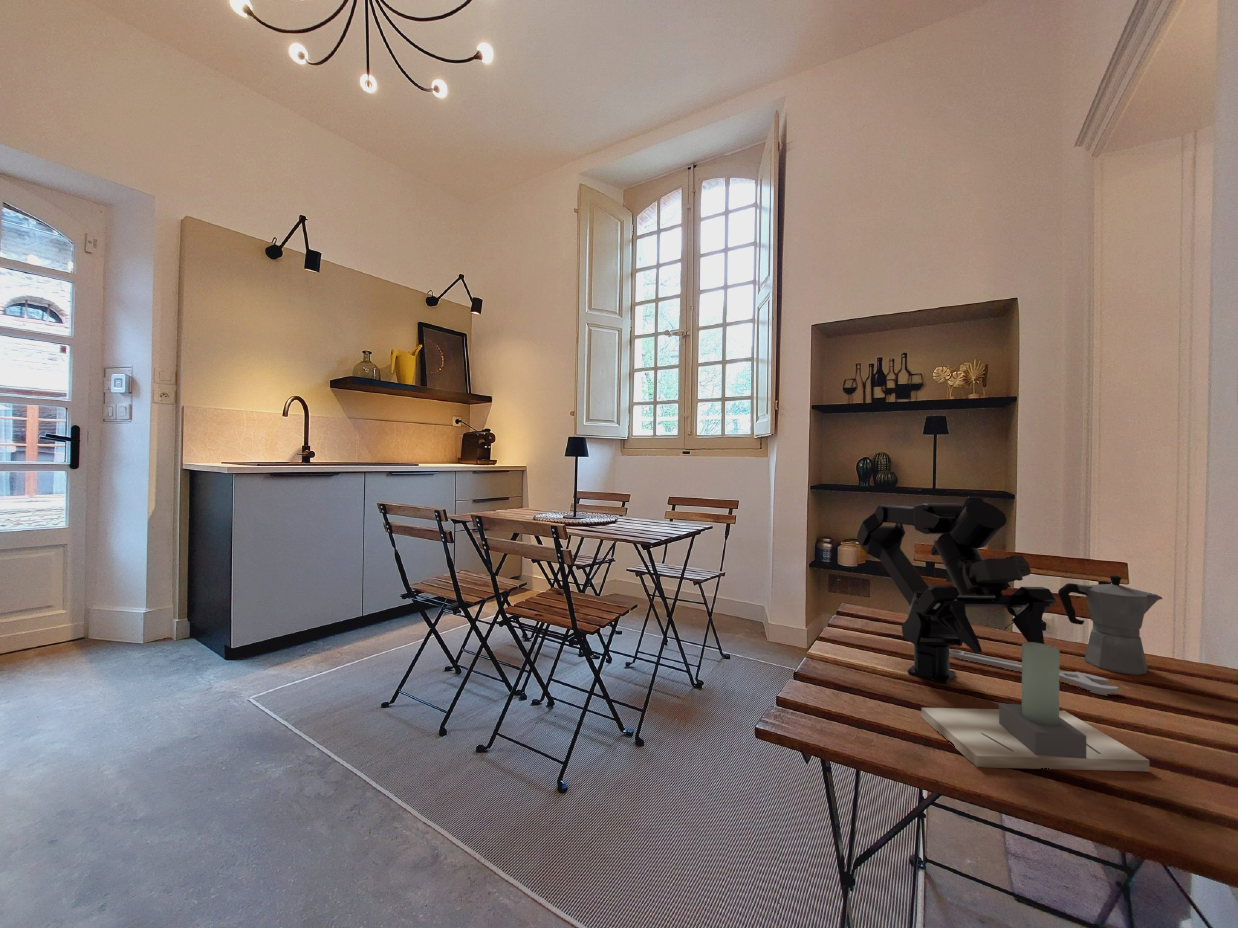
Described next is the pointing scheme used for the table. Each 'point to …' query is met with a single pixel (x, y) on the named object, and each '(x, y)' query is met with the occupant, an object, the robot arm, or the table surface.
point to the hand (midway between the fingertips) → (1010, 653)
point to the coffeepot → (1113, 624)
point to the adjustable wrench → (1080, 679)
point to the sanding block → (1041, 707)
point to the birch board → (1000, 749)
